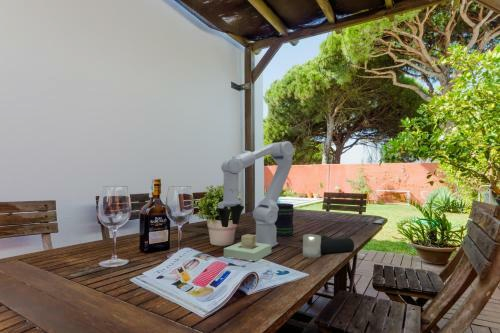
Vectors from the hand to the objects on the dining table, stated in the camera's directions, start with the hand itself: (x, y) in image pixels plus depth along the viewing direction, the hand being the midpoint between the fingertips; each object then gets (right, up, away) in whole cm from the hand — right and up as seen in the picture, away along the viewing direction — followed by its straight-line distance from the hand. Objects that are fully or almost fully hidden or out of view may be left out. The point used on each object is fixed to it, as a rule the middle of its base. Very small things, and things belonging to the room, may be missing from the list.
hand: (230, 225), depth 115 cm
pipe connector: (+38, -11, +3) cm, 40 cm away
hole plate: (+7, -9, -6) cm, 13 cm away
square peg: (+7, -9, -6) cm, 13 cm away
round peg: (+30, -10, -5) cm, 32 cm away
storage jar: (+23, -11, +29) cm, 39 cm away
